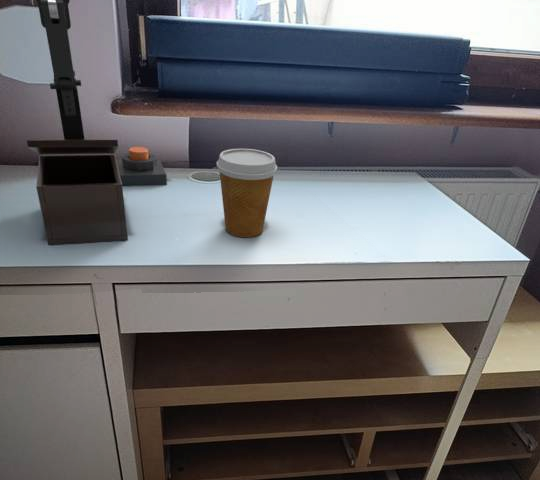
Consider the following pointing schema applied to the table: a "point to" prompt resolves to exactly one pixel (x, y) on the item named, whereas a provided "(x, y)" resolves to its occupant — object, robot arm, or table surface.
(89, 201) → the dark brown box
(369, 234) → the table surface
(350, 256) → the table surface
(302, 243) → the table surface
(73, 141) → the grey box lid
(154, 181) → the block
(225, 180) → the disposable coffee cup
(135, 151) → the button
